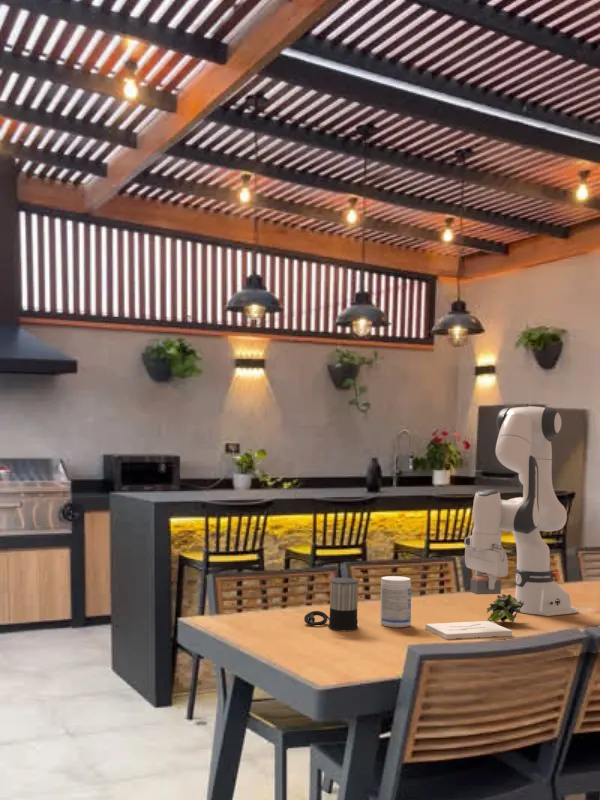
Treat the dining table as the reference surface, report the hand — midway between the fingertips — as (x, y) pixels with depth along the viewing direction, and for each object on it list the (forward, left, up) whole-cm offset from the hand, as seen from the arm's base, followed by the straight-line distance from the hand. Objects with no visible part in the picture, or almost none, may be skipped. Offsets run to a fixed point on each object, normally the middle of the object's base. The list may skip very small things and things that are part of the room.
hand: (485, 587), depth 259 cm
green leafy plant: (-12, -8, -14) cm, 20 cm away
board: (+6, 0, -14) cm, 15 cm away
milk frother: (+45, -16, -14) cm, 49 cm away
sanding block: (0, 0, -2) cm, 2 cm away
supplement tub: (+24, -14, -14) cm, 31 cm away
